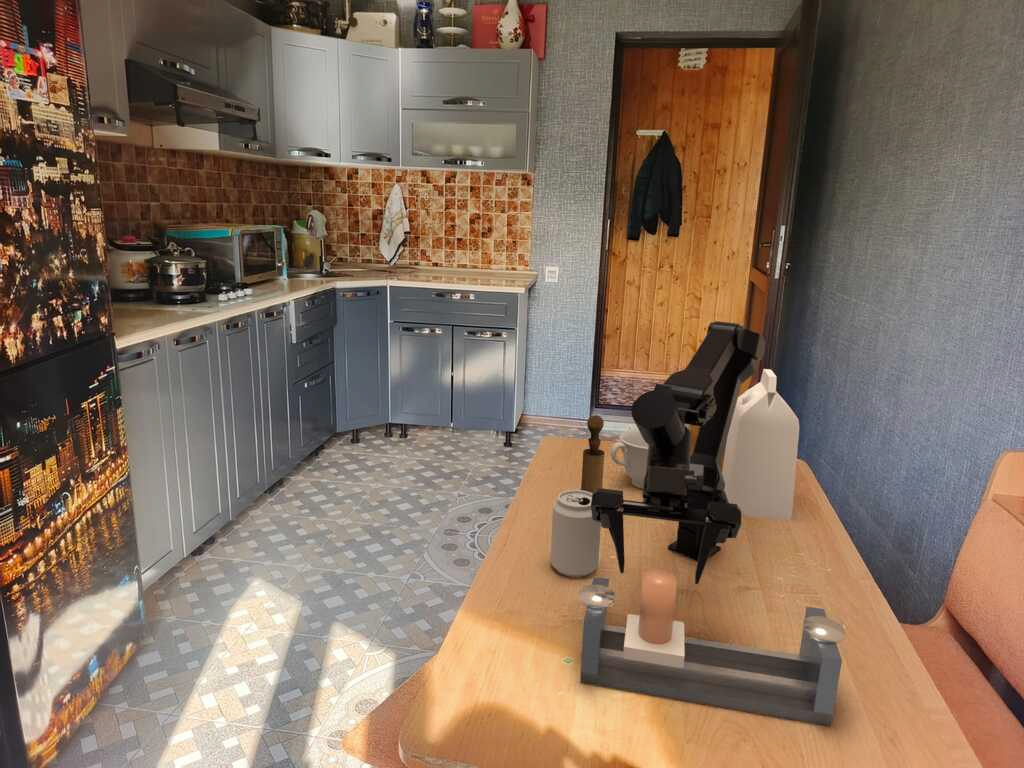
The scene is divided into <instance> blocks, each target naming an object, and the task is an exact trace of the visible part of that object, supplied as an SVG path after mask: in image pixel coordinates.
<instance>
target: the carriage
mask: <svg viewBox="0 0 1024 768" xmlns="http://www.w3.org/2000/svg"><path fill="white" fill-rule="evenodd" d="M641 581H642V583H641V584H642V585H641V594H640V596H641V597H640V607H639V614H630V613H627V619H626V626H625V628H626V633H625V641H624V651H623V659H629V660H636V661H642V662H648V663H654V664H660V665H666V666H672V667H678V668H683V667H684V657H685V653H684V637H685V622H684V621H679V620H674V616H675V615H674V614H675V605H676V597H677V596H676V595H677V585H678V578H677V576H676V575H675V574H674V573H673V572H670V571H669V570H665V569H661V568H651V569H648V570H645V571H644V572H643V574H642V580H641Z"/></svg>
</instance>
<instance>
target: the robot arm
mask: <svg viewBox="0 0 1024 768" xmlns="http://www.w3.org/2000/svg"><path fill="white" fill-rule="evenodd" d="M765 349H766V340H765V339H764V337H763V336H762V335H761V334H760V333H759V332H758V331H753V330H750V329H747V328H746V327H745V326H743V325H740V324H739V323H736V322H726V321H717V320H715V321H713V322H710V323H709V324H708V327H707V330H706V336H705V337H704V339H703V340H702V342H701V344H700V345H699V346H698V348H697V349H696V351H695V353H694V355H693V356H692V357H691V359H690V361H689V362H688V364H687V366H686V367H685V368H684V369H682V370H679V371H676V372H674V373H671V374H670V375H669V376H668V377H667V379H666V380H665V381H664V382H663V383H656V384H655V386H654V389H653V390H649V391H646V392H643V393H642V394H641V395H640V396H638V397H637V399H635V400H634V401H633V403H632V404H631V405H632V406H631V417H632V419H633V421H634V423H635V426H636V427H637V429H639V431H640V433H641V435H642V437H643V439H644V441H645V442H646V443H647V444H648V455H647V465H646V475H645V478H644V487H643V489H642V501H636V500H629V499H624V490H618V489H610V488H603V487H602V488H597V489H596V490H595V491H594V492H593V494H592V501H591V511H592V519H593V520H595V521H597V522H601V528H603V529H607V530H609V531H608V532H609V533H610V536H611V539H612V542H613V544H614V548H615V554H616V558H617V559H616V560H617V564H618V568H619V573H620V574H624V571H625V565H626V564H625V560H626V559H625V536H624V535H625V534H624V531H625V530H624V516H629V517H631V516H632V517H637V518H647V519H653V520H654V519H656V520H662V521H663V520H664V521H672V522H678V526H677V527H678V528H677V532H676V533H677V535H676V540H675V541H674V542H671V543H670V544H669V545H667V549H668V550H669V551H672V552H674V553H677V554H679V555H682V556H684V557H687V558H688V559H691V560H693V561H696V562H697V563H696V566H695V567H696V568H695V572H694V573H695V574H694V584H695V585H699V583H700V580H701V578H702V577H703V573H704V570H705V567H706V564H707V562H708V560H709V559H710V558H713V556H715V555H716V554H718V553H719V552H721V551H722V547H721V546H720V545H718V544H726V541H727V540H728V539H729V540H731V539H737V536H738V533H739V531H740V528H741V526H742V516H741V509H740V508H739V507H738V505H737V504H730V503H729V502H728V499H727V496H726V493H725V491H724V488H725V482H724V478H723V475H722V472H721V469H720V462H721V459H722V455H723V451H724V447H725V444H726V440H727V436H728V433H729V429H730V425H731V421H732V418H733V414H734V410H735V407H736V403H737V399H738V395H739V392H740V388H741V385H742V383H743V382H745V381H746V380H747V379H748V378H749V377H750V376H751V375H752V376H753V375H754V374H755V372H756V370H757V367H758V363H759V361H762V360H763V357H764V354H765ZM686 425H688V426H689V425H694V426H700V429H699V432H698V436H697V439H696V443H695V446H694V450H693V453H692V455H691V439H692V434H691V432H690V431H689V429H688V428H689V427H687V426H686ZM690 455H691V456H690Z"/></svg>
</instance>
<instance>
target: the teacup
mask: <svg viewBox="0 0 1024 768" xmlns="http://www.w3.org/2000/svg"><path fill="white" fill-rule="evenodd" d="M618 436H619V440H620V441H621V442H620V441H619V442H615V443H614V444H613V445H612V446H611V448H610V451H609V453H610V458H611V461H612V462H614V463H615V464H616V465H619V466H623V467H624V470H625V473H626V475H627V476H628V477H629V478H631V479H632V480H631V484H632V485H633V486H634V487H636V488H637V489H638V488H639V489H642V490H643V487H644V478H645V475H646V465H647V455H648V444H647V443H646V442H645V441H644V439H643V437H642V435H641V433H640V431H639V429H638V428H632V429H627V430H623V432H621V433H619V435H618ZM619 449H620V450H621V453H622V454H623V460H620V459H618V458H617V451H618V450H619Z"/></svg>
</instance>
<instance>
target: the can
mask: <svg viewBox="0 0 1024 768" xmlns="http://www.w3.org/2000/svg"><path fill="white" fill-rule="evenodd" d="M556 498H557V499H556V500H555V501H554V503H553V504H552V516H551V517H552V522H551V539H550V541H551V544H550V546H551V547H550V565H552V567H553V568H554V569H555V570H556V571H557V572H558V573H559V574H562V575H563V576H567V577H572V578H582V577H585V576H588V575H590V574H591V573H593V572H594V571H596V570H597V568H598V566H599V562H600V561H599V560H600V547H601V546H600V541H601V528H602V527H601V522H597V521H595V520H593V519H592V511H591V501H592V493H590V492H587V491H583V490H580V489H568V490H564V491H561V492H560V493H558V495H557V497H556Z"/></svg>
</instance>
